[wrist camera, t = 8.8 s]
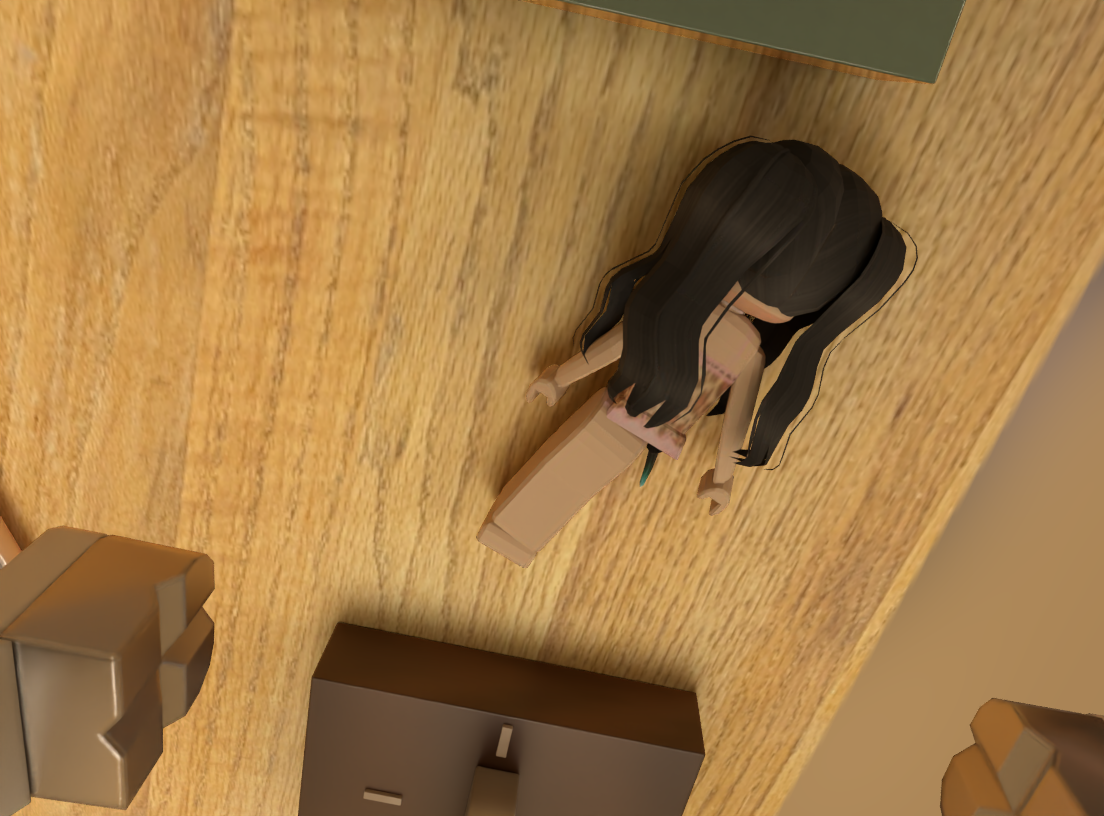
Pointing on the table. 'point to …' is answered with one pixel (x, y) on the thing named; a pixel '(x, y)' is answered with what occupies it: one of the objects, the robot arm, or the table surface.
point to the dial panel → (488, 733)
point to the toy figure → (709, 331)
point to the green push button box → (804, 30)
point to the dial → (493, 793)
